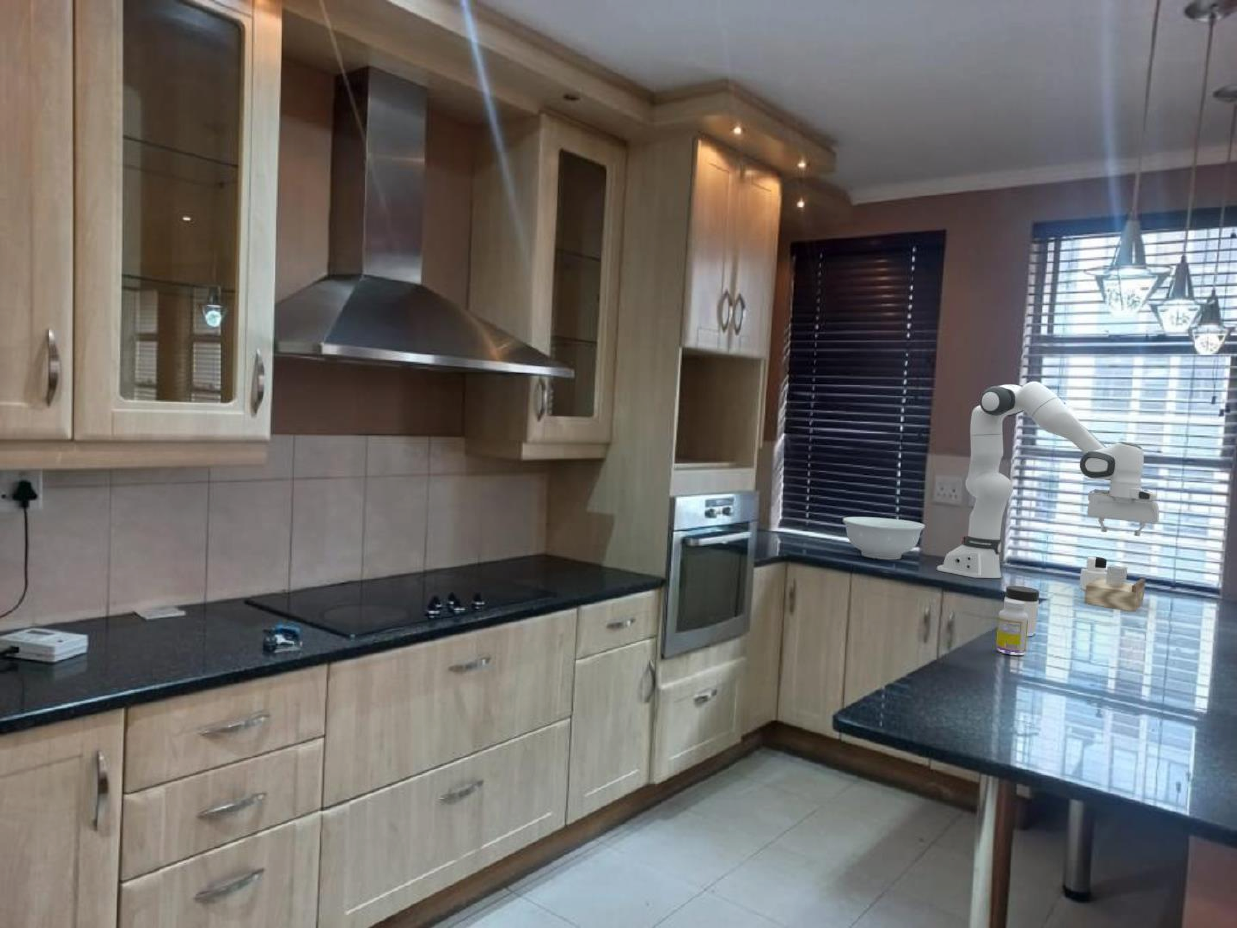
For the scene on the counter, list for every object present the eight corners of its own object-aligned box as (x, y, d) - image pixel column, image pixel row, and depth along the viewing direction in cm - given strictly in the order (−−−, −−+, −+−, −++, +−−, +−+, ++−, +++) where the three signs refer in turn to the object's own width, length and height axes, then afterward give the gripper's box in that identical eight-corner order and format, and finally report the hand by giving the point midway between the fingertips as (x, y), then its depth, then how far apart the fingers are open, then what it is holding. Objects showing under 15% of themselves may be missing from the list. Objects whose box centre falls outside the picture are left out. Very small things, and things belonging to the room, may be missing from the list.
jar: (1043, 635, 229) (1047, 591, 229) (1022, 637, 226) (1026, 593, 225) (1015, 627, 237) (1018, 584, 237) (994, 629, 234) (998, 585, 233)
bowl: (824, 552, 352) (827, 517, 351) (866, 547, 374) (869, 514, 373) (896, 566, 328) (899, 528, 327) (936, 560, 350) (939, 524, 349)
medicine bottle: (1099, 589, 305) (1103, 556, 304) (1109, 593, 298) (1112, 559, 297) (1078, 588, 306) (1082, 554, 305) (1087, 592, 299) (1091, 558, 298)
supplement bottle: (1010, 648, 214) (1014, 598, 213) (1031, 656, 208) (1036, 604, 207) (989, 649, 211) (993, 598, 211) (1010, 657, 205) (1014, 604, 204)
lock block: (1105, 584, 281) (1107, 566, 280) (1108, 582, 284) (1110, 564, 284) (1123, 587, 277) (1124, 569, 277) (1125, 585, 281) (1127, 567, 281)
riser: (1084, 603, 278) (1086, 579, 277) (1095, 595, 293) (1097, 572, 293) (1134, 611, 269) (1136, 586, 269) (1142, 602, 285) (1145, 579, 284)
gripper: (1087, 488, 283) (1083, 530, 284) (1159, 495, 270) (1154, 539, 271) (1090, 488, 288) (1086, 528, 289) (1162, 495, 275) (1157, 537, 276)
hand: (1120, 533), depth 280 cm, fingers open, 8 cm apart
